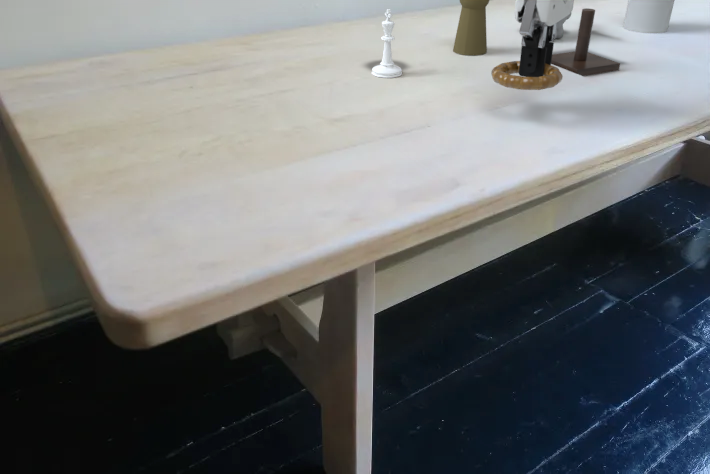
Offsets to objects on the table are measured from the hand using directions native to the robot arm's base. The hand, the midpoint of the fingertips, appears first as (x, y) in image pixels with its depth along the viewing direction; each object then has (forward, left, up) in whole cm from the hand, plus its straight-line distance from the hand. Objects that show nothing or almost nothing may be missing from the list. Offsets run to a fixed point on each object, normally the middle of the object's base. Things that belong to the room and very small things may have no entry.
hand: (534, 73), depth 89 cm
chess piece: (+24, +9, -6) cm, 27 cm away
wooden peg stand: (+14, -22, -5) cm, 27 cm away
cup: (+26, -49, -6) cm, 56 cm away
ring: (-2, +3, +1) cm, 3 cm away
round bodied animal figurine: (+33, -32, -6) cm, 46 cm away
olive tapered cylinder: (+30, -11, -6) cm, 33 cm away
